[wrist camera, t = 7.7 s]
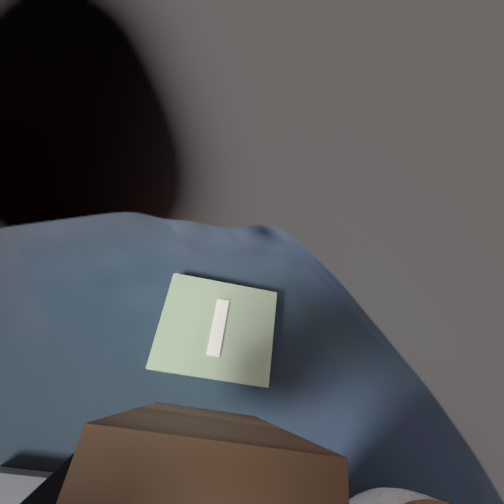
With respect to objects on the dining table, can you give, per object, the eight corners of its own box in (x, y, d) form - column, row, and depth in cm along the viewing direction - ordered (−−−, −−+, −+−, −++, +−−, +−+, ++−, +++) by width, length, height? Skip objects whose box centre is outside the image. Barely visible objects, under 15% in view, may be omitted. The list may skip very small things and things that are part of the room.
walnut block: (242, 518, 12) (360, 846, 3) (129, 507, 12) (-73, 855, 3) (253, 416, 14) (347, 458, 5) (157, 402, 14) (85, 423, 5)
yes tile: (264, 387, 21) (268, 387, 20) (148, 369, 20) (145, 368, 19) (273, 296, 25) (277, 291, 23) (174, 278, 24) (173, 272, 23)
